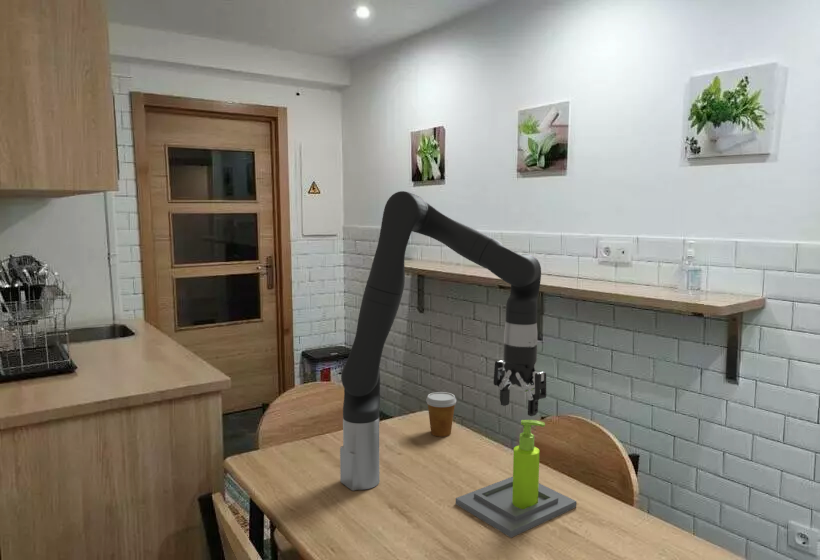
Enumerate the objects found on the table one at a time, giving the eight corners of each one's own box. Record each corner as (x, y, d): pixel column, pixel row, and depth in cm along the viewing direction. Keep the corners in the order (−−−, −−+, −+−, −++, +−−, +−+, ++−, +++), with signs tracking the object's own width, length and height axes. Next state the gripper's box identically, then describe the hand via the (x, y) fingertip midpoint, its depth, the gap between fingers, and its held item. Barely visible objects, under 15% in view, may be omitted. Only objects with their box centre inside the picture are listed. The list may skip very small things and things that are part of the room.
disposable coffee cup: (460, 430, 187) (460, 393, 185) (449, 440, 178) (450, 402, 177) (432, 425, 191) (433, 390, 189) (421, 435, 182) (421, 398, 181)
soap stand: (510, 537, 125) (511, 526, 125) (455, 504, 139) (455, 494, 139) (576, 507, 138) (576, 497, 138) (519, 479, 152) (519, 470, 152)
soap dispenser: (543, 511, 133) (545, 426, 131) (512, 508, 134) (514, 424, 132) (542, 498, 139) (544, 417, 137) (512, 496, 140) (514, 415, 138)
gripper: (486, 338, 137) (485, 404, 139) (532, 349, 126) (530, 422, 128) (509, 334, 142) (507, 399, 144) (555, 345, 131) (553, 415, 132)
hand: (518, 410), depth 136 cm, fingers open, 8 cm apart
